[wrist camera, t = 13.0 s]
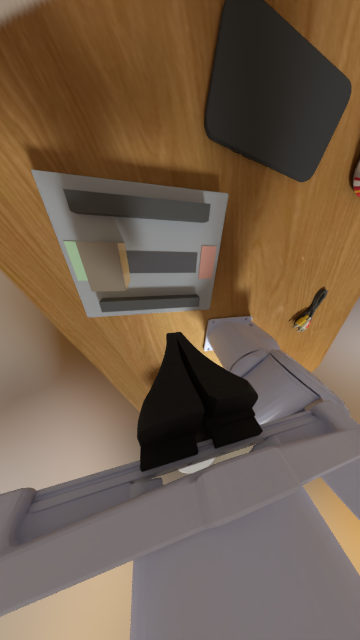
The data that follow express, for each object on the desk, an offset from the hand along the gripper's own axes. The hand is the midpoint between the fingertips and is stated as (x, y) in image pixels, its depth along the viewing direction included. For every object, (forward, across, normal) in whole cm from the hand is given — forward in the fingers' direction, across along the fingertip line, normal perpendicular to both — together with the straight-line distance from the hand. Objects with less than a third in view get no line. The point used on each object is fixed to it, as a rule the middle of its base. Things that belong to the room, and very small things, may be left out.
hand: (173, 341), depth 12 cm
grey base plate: (+10, +2, -6) cm, 12 cm away
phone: (+11, -12, -20) cm, 26 cm away
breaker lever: (+8, +6, -6) cm, 12 cm away
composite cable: (+10, -33, +4) cm, 35 cm away
